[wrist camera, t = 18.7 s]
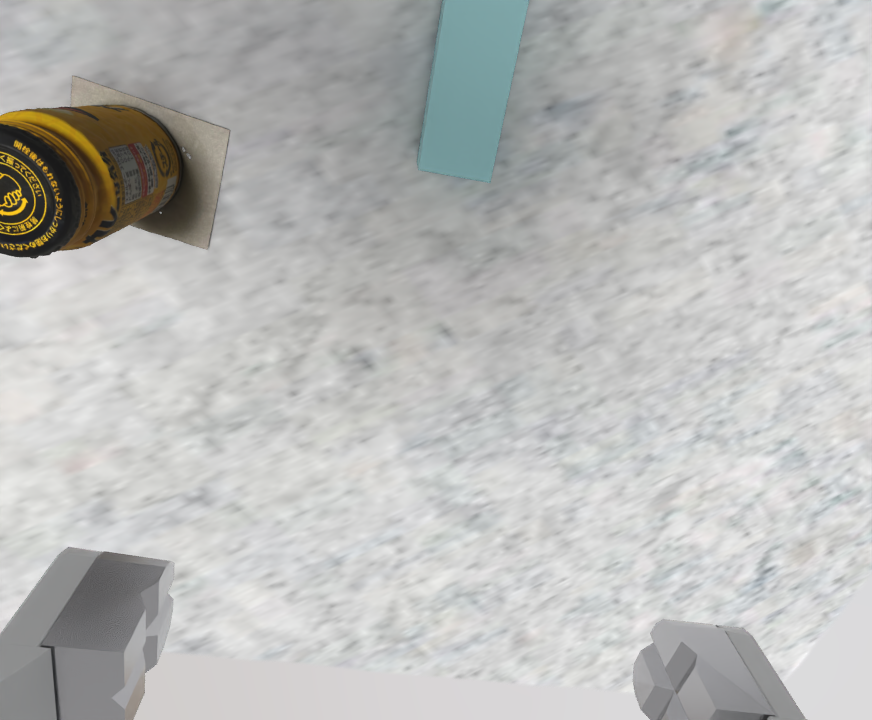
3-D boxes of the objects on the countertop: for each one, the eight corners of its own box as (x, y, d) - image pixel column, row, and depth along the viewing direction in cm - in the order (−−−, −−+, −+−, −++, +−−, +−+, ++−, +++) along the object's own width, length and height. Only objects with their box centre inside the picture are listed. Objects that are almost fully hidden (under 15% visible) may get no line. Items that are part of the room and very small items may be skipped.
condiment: (74, 75, 31) (-99, 71, 20) (230, 130, 33) (147, 152, 22) (64, 204, 34) (-92, 260, 23) (209, 248, 36) (126, 319, 25)
